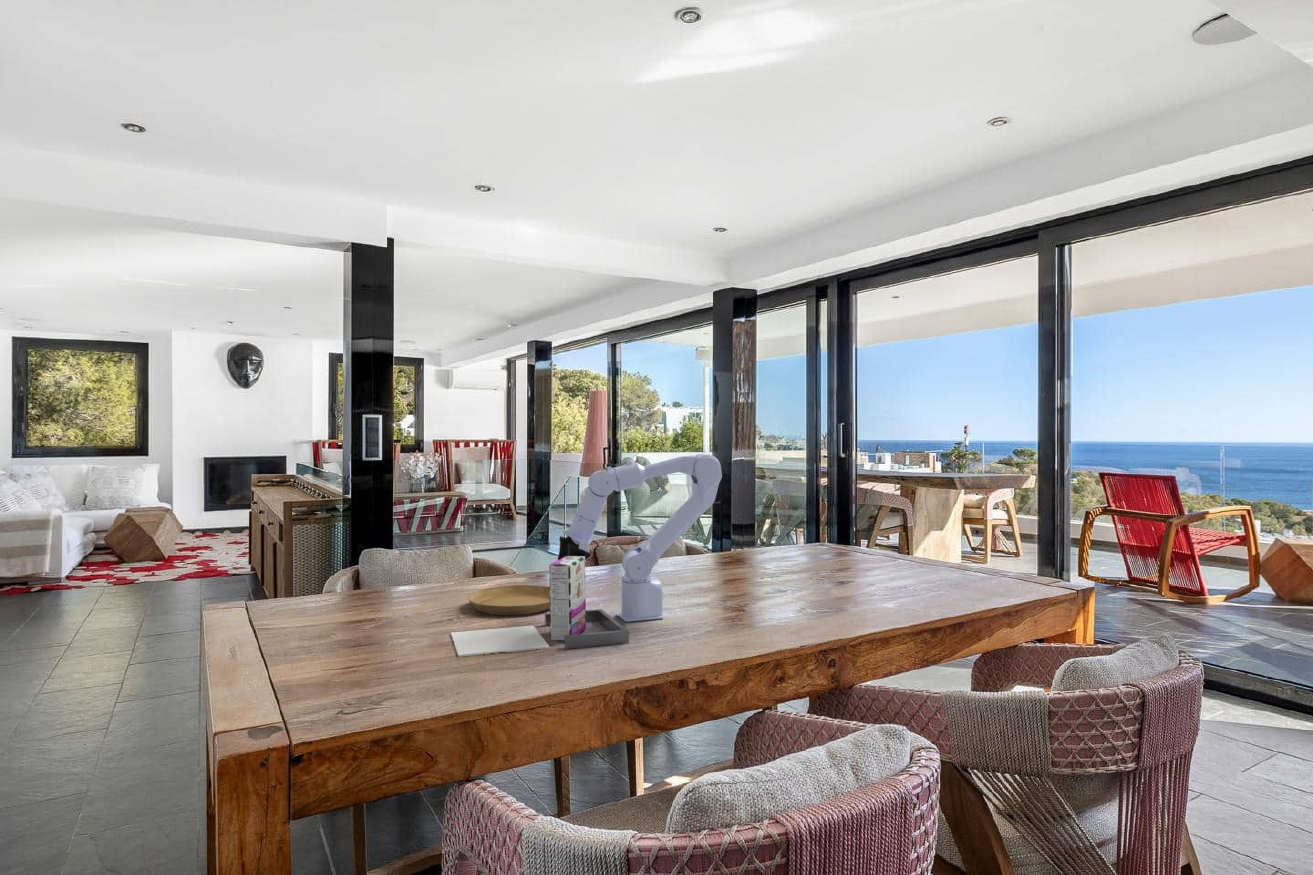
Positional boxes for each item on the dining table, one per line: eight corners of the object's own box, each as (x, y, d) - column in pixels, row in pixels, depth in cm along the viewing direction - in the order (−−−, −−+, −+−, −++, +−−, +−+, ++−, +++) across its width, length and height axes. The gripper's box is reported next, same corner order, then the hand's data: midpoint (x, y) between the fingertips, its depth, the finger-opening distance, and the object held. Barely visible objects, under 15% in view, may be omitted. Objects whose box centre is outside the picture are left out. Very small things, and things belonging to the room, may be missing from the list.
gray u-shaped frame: (601, 619, 177) (601, 608, 177) (628, 642, 157) (628, 630, 157) (544, 624, 173) (544, 613, 173) (565, 649, 153) (565, 636, 153)
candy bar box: (565, 627, 170) (565, 555, 170) (586, 629, 169) (586, 556, 169) (548, 641, 159) (548, 563, 159) (571, 642, 158) (571, 564, 158)
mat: (533, 627, 170) (533, 625, 170) (549, 648, 153) (549, 646, 153) (450, 634, 164) (450, 632, 164) (458, 656, 147) (458, 654, 147)
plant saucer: (544, 620, 178) (544, 606, 178) (450, 615, 182) (450, 602, 182) (576, 599, 201) (576, 586, 201) (491, 595, 206) (491, 583, 206)
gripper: (564, 507, 183) (542, 559, 183) (578, 518, 170) (554, 574, 169) (590, 517, 186) (569, 568, 185) (605, 528, 172) (582, 584, 171)
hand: (563, 571), depth 177 cm, fingers open, 7 cm apart
